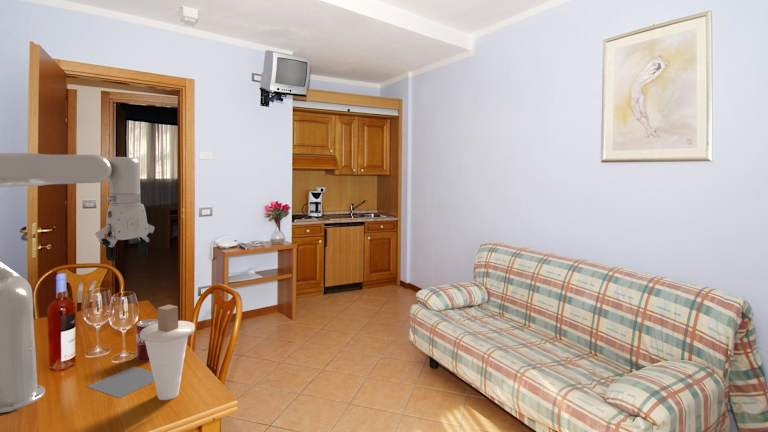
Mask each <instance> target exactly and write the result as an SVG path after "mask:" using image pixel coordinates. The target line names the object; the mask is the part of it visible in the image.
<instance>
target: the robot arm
mask: <svg viewBox="0 0 768 432" xmlns="http://www.w3.org/2000/svg"><path fill="white" fill-rule="evenodd" d="M140 168H141V166H140V161H139V159H138V158H135V157H129V156H113V157H104V156H102V155H100V154H46V153H45V154H44V153H43V154H42V153H33V152H0V188H3V187H4V188H5V187H6V188H10V187H11V188H14V187H16V188H18V187H39V186H40V187H41V186H46V185H68V184H69V185H71V184H72V185H73V184H75V185H76V184H99V183H103V182H105V181H109V196H106V201H107V202H109V203H110V204H108V207H107V211H106V221H105V223H106V224H105V226H104V227H102V228H101V229H99V230H97V231H96V232H95V236H96V238H97V240H98V242H100V243H101V244H102V245H103V247H105V257H106V260H107V261H111V262H115V261H117V248H116V247H115V245H116V244H117V242H118V241H124V240H133V239H138V240H139V241H138V243H137V252H138V255H140V256H148V249H149V248H148V243H149V242H150V239H151V238H152V236H153V233H154V231H155V226H154V225H152V224H150V223H148V219H147V218H148V217H147V212H146V208H145V206H144V203H142V202H141V200H142V199H141V173H140V172H141V170H140ZM105 234H106V237H107V238H105ZM34 325H35V324H34V299H33V290H32V286H31V284H30V283H29V281H27V279H26V278H25V277H24V276H23V277H22V275H20V273H18V272H16V271H15V270H13V269H12V268H10V267H9V266H8V265H6V264H5V263H4V262H2V261H0V414H4V413H8V412H13V411H17V409H19V408H24V407H25V406H28V405H30V404H33V403H35V402H37V401H39V400H40V399H41V398H42V397H43V396H44V395H45V393H46V388H45V387H44V386H42V385H38V375H37V374H38V373H37V359H36V358H37V357H36V354H37V353H36V341H35V339H36V338H35V329H34V327H35V326H34Z"/></svg>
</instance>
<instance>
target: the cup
mask: <svg viewBox="0 0 768 432" xmlns="http://www.w3.org/2000/svg"><path fill="white" fill-rule="evenodd" d="M188 337H189V336H187V337H184V338H181V339H178V340H173V341H167V342H148V341H145V344H146V348H147V352H148V356H149V361H148V362H149V364H150V368H151V372H152V373H153V377H154V382H153V383H154V386H155V391H156V395H157V399H158V400H160V401H168V400H173V399H175V398H177V396H179V395H180V394H179V392H180V387H181V381H182V373H183V367H184V363H185V356H186V350H187V344H188Z"/></svg>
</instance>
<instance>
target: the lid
mask: <svg viewBox="0 0 768 432" xmlns="http://www.w3.org/2000/svg"><path fill="white" fill-rule="evenodd" d="M157 320H158V323H157V324H153V325H150V326H148V327H146V328H144V329H143V330H141V332H140V337H141V339H142V340H144V341H148V342H167V341H173V340H178V339H181V338H184V337H187V336H188V337H189V336H191V335H192V334H193V333H194V332H196V331H195V330H196V324H195V323H194V322H191V321H187V320H179V306H177V305H173V304H166V305H164V306H160V307H157Z"/></svg>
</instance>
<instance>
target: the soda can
mask: <svg viewBox="0 0 768 432" xmlns="http://www.w3.org/2000/svg"><path fill="white" fill-rule="evenodd" d="M157 323H158V318H156V319H155V318H150V319H144V320H141V321H138V322H137V323H136V325H135V342H136V343H135V344H136V360H137V361H139V362H150V361H149V356H148V352H147V348H146V344H145V341H144V340H142V339H141V337H140V332H141V330H143V329H144V328H146V327H148V326H150V325H153V324H157Z"/></svg>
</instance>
